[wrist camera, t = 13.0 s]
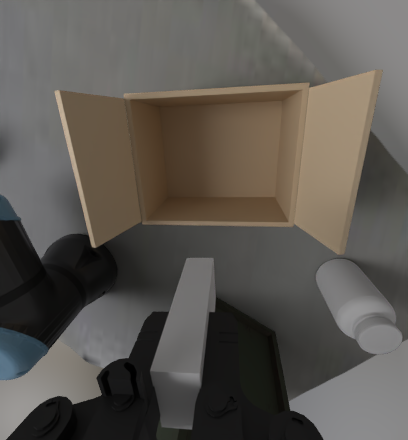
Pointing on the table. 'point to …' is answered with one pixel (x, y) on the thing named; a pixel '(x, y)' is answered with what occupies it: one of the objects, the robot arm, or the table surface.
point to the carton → (218, 154)
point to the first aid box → (250, 370)
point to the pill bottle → (358, 306)
